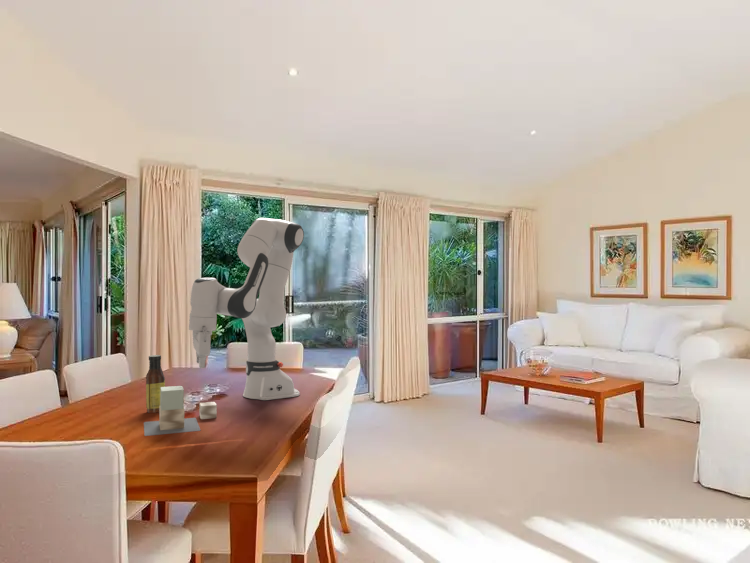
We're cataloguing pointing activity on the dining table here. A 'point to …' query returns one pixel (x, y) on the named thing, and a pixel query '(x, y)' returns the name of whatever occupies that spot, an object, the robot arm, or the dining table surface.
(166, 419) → the birch block
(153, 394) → the sauce bottle
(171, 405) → the sage block
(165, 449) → the dining table surface
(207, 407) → the cream cube
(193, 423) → the slate mat
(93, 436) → the dining table surface
